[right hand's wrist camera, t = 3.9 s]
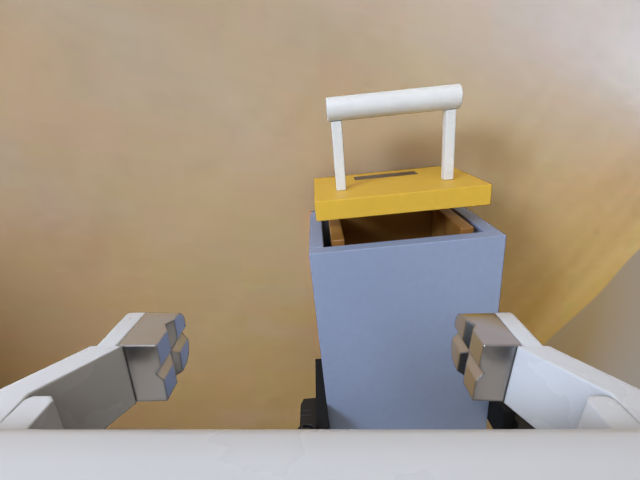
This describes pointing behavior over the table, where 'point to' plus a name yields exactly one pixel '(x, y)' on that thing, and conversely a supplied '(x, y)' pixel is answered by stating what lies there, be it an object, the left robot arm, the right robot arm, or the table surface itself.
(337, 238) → the drawer
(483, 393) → the right robot arm
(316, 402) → the left robot arm
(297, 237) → the table surface
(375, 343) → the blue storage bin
